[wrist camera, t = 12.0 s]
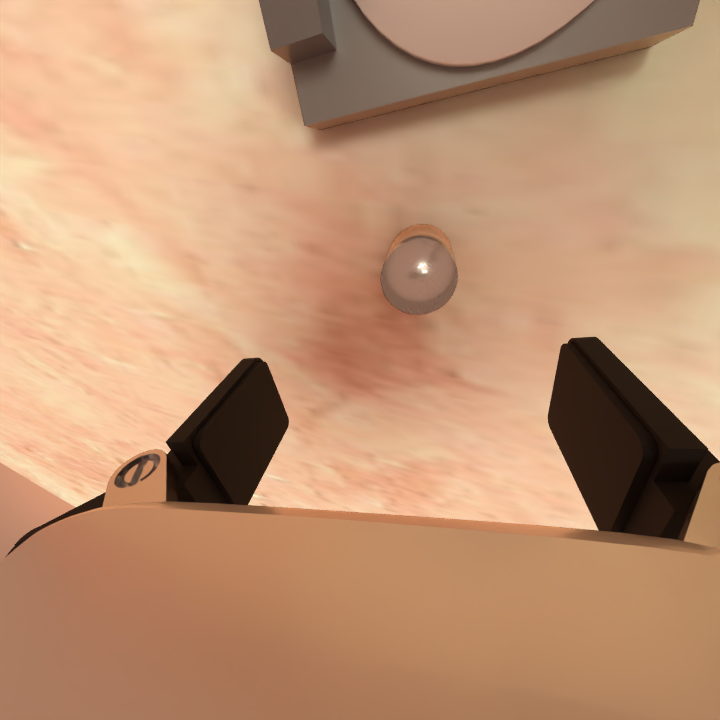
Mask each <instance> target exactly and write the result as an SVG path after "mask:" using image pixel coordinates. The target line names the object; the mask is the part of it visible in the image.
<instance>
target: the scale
mask: <svg viewBox="0 0 720 720" xmlns="http://www.w3.org/2000/svg"><path fill="white" fill-rule="evenodd" d="M699 1H700V0H259V3H260V7H261V11H262V15H263V19H264V24H265V28H266V32H267V36H268V40H269V45H270V49H271V51H272V52H274V53H275V54H277V55H278V56H280V57H281V58H283V59H284V60H286V61H287V62H289V63H290V64H291V66H292V70H293V75H294V79H295V84H296V89H297V93H298V98H299V103H300V107H301V112H302V116H303V121H304V126H307V127H311V128H315V129H319V130H321V129H325V128H329V127H333V126H337V125H341V124H345V123H349V122H353V121H357V120H361V119H365V118H369V117H372V116H376V115H380V114H384V113H388V112H392V111H396V110H400V109H404V108H408V107H412V106H416V105H420V104H424V103H428V102H432V101H436V100H440V99H444V98H448V97H452V96H456V95H460V94H464V93H468V92H472V91H476V90H480V89H484V88H488V87H492V86H496V85H500V84H504V83H508V82H512V81H516V80H520V79H524V78H528V77H531V76H535V75H539V74H543V73H547V72H551V71H555V70H559V69H563V68H567V67H571V66H575V65H579V64H583V63H587V62H591V61H595V60H599V59H603V58H607V57H611V56H615V55H619V54H623V53H627V52H631V51H635V50H639V49H643V48H647V47H651V46H653V45H655V44H657V43H659V42H661V41H663V40H665V39H667V38H669V37H671V36H673V35H675V34H677V33H679V32H681V31H683V30H685V29H687V28H689V27H691V26H693V23H694V19H695V15H696V12H697V8H698V5H699Z"/></svg>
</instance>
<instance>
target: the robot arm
mask: <svg viewBox="0 0 720 720" xmlns="http://www.w3.org/2000/svg"><path fill="white" fill-rule="evenodd" d="M548 423H549V427H550V429H551V431H552V433H553V435H554V437H555V440H556V442H557V444H558V446H559V448H560V450H561V452H562V454H563V456H564V458H565V461H566V463H567V465H568V467H569V469H570V471H571V473H572V475H573V477H574V479H575V482H576V484H577V486H578V488H579V490H580V492H581V494H582V496H583V498H584V500H585V502H586V505H587V507H588V509H589V511H590V513H591V515H592V517H593V519H594V521H595V523H596V526H597V528H598V530H599V531H597V530H585V529H574V528H563V527H551V526H540V525H527V524H514V523H500V522H486V521H473V520H459V519H445V518H432V517H418V516H403V515H389V514H374V513H359V512H345V511H330V510H315V509H300V508H283V507H267V506H251V505H248V503H249V502H250V500H251V498H252V496H253V494H254V492H255V490H256V488H257V486H258V484H259V482H260V480H261V478H262V476H263V474H264V472H265V471H266V469H267V467H268V465H269V463H270V461H271V459H272V457H273V455H274V453H275V451H276V449H277V447H278V445H279V443H280V442H281V440H282V438H283V436H284V434H285V432H286V430H287V428H288V424H289V419H288V416H287V413H286V411H285V408H284V406H283V403H282V400H281V398H280V395H279V393H278V390H277V388H276V385H275V382H274V380H273V377H272V375H271V372H270V370H269V367H268V365H267V363H266V362H263V360H262V359H260V358H248V359H243V360H241V361H240V362H239V364H238V365H237V366H236V367H235V368H234V369H233V370H232V371H231V372H230V373H229V374H228V375H227V376H226V378H225V379H224V380H223V381H222V382H221V383H220V384H219V385H218V386H217V387H216V388H215V389H214V390H213V392H212V393H211V394H210V395H209V396H208V397H207V398H206V399H205V400H204V401H203V402H202V403H201V405H200V406H199V407H198V408H197V409H196V410H195V411H194V412H193V413H192V414H191V415H190V416H189V417H188V419H187V420H186V421H185V422H184V423H183V424H182V425H181V426H180V427H179V428H178V429H177V430H176V431H175V433H174V434H173V435H172V436H171V437H170V438H169V439H168V440H167V441H166V443H167V445H168V446H169V448H170V449H171V451H170V452H169V453H168V454H166V453H165V452H164V451H162V450H158V449H154V450H148V451H146V452H143V453H140V454H138V455H136V456H134V457H132V458H131V459H129V460H128V461H126V462H125V463H124V464H122V465H121V466H120V467H119V468H118V469H117V470H116V471H115V472H114V474H113V475H112V476H111V477H110V480H109V482H108V485H107V489H106V492H105V493H103V494H101V495H99V496H97V497H96V498H94V499H92V500H90V501H88V502H86V503H84V504H82V505H80V506H78V507H76V508H74V509H72V510H70V511H68V512H66V513H65V514H63V515H61V516H59V517H57V518H55V519H53V520H51V521H49V522H47V523H46V524H43V525H42V526H39V527H37V528H35V529H33V530H31V531H30V532H28V533H27V534H26V535H24V536H23V537H22V538H21V539H20V540H19V541H18V542H17V543H16V544H15V546H14V547H13V549H11V551H10V552H9V553H8V555H7V556H6V557H5V558H4V559H3V560H2V561H1V562H0V720H720V461H719V460H718V459H717V458H716V457H715V456H714V455H713V454H712V453H711V452H710V451H709V450H708V448H707V447H706V446H705V445H704V444H703V443H702V442H701V441H700V440H699V439H698V438H697V437H696V436H695V435H694V434H693V433H692V432H691V431H690V430H689V429H688V428H687V427H686V426H685V425H684V424H683V423H682V422H681V421H680V420H679V419H678V418H677V417H676V416H675V415H674V414H673V413H672V412H671V411H670V410H669V409H668V408H667V407H666V406H665V405H664V404H663V403H662V402H661V401H660V400H659V399H658V398H657V397H656V396H655V395H654V394H653V393H652V392H651V391H650V390H649V389H648V388H647V387H646V386H645V385H644V384H643V383H642V382H641V381H640V380H639V379H638V378H637V377H636V376H635V375H634V374H633V373H632V372H631V371H630V370H629V369H628V368H627V367H626V366H625V365H624V364H623V363H622V362H621V361H620V360H619V359H618V358H617V357H616V356H615V355H614V354H613V353H612V352H611V351H610V350H609V349H608V348H607V347H606V346H605V345H604V344H603V343H602V342H601V341H600V340H599V339H598V338H597V337H584V338H571V339H570V340H569V342H568V344H563V345H562V346H561V349H560V354H559V359H558V365H557V370H556V375H555V381H554V386H553V391H552V397H551V402H550V407H549V413H548Z"/></svg>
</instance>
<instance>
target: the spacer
mask: <svg viewBox="0 0 720 720" xmlns="http://www.w3.org/2000/svg"><path fill="white" fill-rule="evenodd" d="M457 276H458V275H457V268H456V264H455V260H454V256H453V252H452V248H451V244H450V242H449V240H448V238H447V236H446V235H445V234H444V233H443V232H442V231H441V230H440V229H438V228H436V227H434V226H432V225H427V224H418V225H413V226H411V227H408V228H406V229H405V230H403V231H402V232H401V233H400V234H399V235H398V236H397V237H396V239H395V240H394V242H393V244H392V246H391V248H390V251H389V253H388V256H387V258H386V261H385V263H384V265H383V268H382V272H381V286H382V290H383V293H384V295H385V297H386V298H387V300H388V301H389V302H390V303H391V304H392V305H393V306H394V307H395V308H397V309H398V310H400V311H402V312H405V313H408V314H415V315H420V314H427V313H430V312H433V311H435V310H437V309H439V308H440V307H442V306H443V305H444V304H445V303H446V302H447V301H448V300H449V299H450V298H451V296H452V295H453V293H454V291H455V288H456V284H457Z"/></svg>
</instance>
